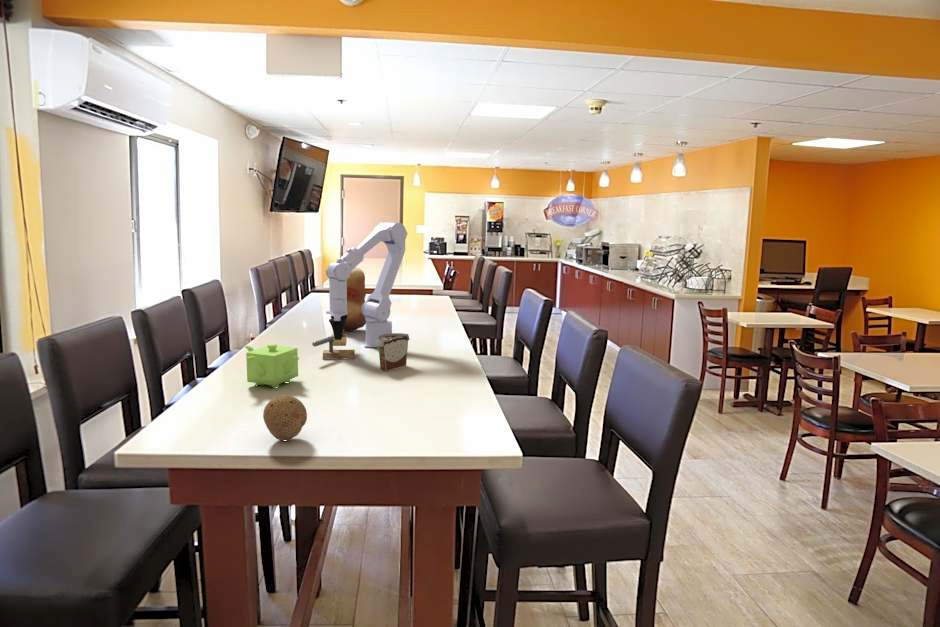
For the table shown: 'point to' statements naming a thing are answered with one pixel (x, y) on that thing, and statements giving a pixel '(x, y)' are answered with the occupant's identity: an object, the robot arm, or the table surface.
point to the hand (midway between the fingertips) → (338, 337)
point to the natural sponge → (285, 417)
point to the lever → (323, 341)
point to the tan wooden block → (340, 341)
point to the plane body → (338, 353)
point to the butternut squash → (355, 300)
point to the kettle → (271, 365)
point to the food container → (392, 350)
